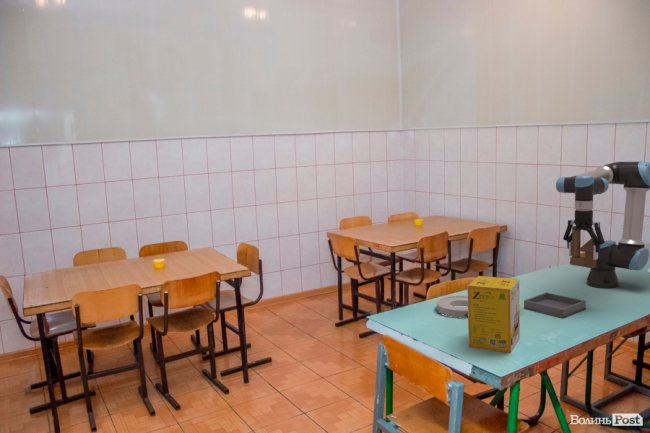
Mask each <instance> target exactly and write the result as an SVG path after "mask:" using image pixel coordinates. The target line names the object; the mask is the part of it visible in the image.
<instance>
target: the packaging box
mask: <svg viewBox="0 0 650 433" xmlns="http://www.w3.org/2000/svg"><path fill="white" fill-rule="evenodd" d="M466 287H467V289H466V290H467V296H468V316H467V327H468V328H467V331H468V333H467V334H468V335H467V337H468V347H469V348H474V347H475V348H476V349H481V348H482V349H481V350H488V351H496V352H503V353H509V354H512V352H513V350H514V348H515V347H516V345H518V344H517V343H518V342H519V340H520V339H521V338H520V337H521V333H520V330H521V328H520V324H521V323H520V322H521V318H520V317H521V316H520V312H521V311H520V306H521V305H520V278H510V277H498V276H497V277H496V276H488V275H487V276H486V275H478V276H477V277H476V278H474V279H473V280H472V281H471V282H470V283H469V284H467V285H466Z"/></svg>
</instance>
